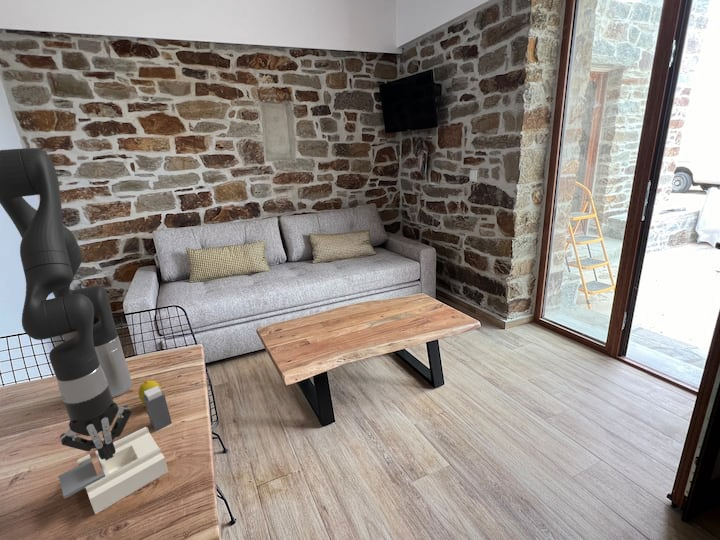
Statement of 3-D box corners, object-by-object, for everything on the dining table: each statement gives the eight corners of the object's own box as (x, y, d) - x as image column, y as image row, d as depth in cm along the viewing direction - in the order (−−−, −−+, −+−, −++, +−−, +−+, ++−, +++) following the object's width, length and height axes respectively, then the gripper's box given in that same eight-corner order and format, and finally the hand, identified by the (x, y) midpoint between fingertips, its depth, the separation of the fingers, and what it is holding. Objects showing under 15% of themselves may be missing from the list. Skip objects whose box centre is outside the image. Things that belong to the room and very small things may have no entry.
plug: (150, 423, 98) (141, 391, 95) (166, 416, 101) (158, 384, 98) (155, 431, 96) (146, 398, 92) (171, 423, 98) (163, 390, 95)
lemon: (155, 412, 103) (148, 387, 100) (138, 410, 104) (130, 386, 101) (168, 399, 108) (162, 375, 105) (152, 397, 109) (145, 374, 106)
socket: (82, 473, 84) (75, 456, 82) (149, 439, 93) (144, 423, 91) (95, 514, 74) (88, 495, 73) (168, 471, 83) (163, 454, 82)
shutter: (59, 478, 78) (54, 464, 77) (98, 458, 82) (94, 445, 81) (64, 498, 73) (58, 484, 72) (105, 476, 78) (100, 463, 76)
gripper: (117, 368, 82) (137, 431, 87) (41, 397, 73) (68, 465, 79) (127, 382, 77) (147, 448, 82) (46, 415, 68) (74, 486, 74)
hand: (108, 456), depth 80 cm, fingers closed
